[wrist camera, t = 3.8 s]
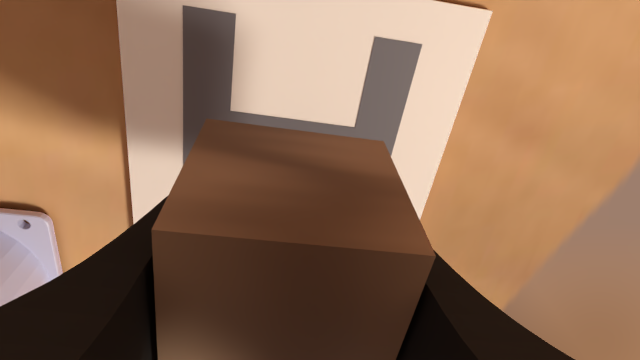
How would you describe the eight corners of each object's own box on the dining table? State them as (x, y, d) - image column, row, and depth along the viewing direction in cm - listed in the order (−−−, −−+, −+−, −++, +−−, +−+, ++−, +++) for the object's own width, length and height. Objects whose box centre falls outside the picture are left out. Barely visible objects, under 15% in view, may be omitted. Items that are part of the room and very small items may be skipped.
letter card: (136, 235, 19) (134, 239, 19) (115, -57, 13) (111, -57, 13) (402, 260, 21) (404, 264, 21) (489, 9, 15) (493, 11, 15)
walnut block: (202, 258, 14) (160, 406, 9) (206, 118, 11) (150, 229, 7) (349, 271, 14) (374, 414, 10) (383, 141, 12) (436, 255, 7)
